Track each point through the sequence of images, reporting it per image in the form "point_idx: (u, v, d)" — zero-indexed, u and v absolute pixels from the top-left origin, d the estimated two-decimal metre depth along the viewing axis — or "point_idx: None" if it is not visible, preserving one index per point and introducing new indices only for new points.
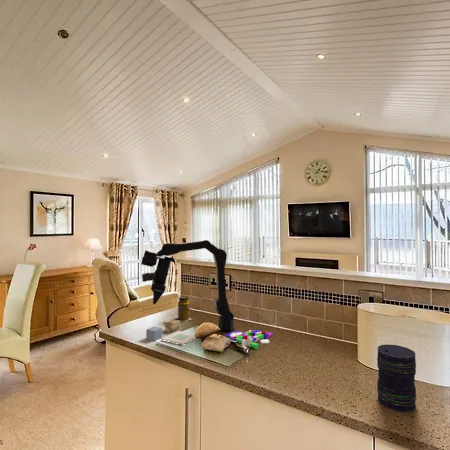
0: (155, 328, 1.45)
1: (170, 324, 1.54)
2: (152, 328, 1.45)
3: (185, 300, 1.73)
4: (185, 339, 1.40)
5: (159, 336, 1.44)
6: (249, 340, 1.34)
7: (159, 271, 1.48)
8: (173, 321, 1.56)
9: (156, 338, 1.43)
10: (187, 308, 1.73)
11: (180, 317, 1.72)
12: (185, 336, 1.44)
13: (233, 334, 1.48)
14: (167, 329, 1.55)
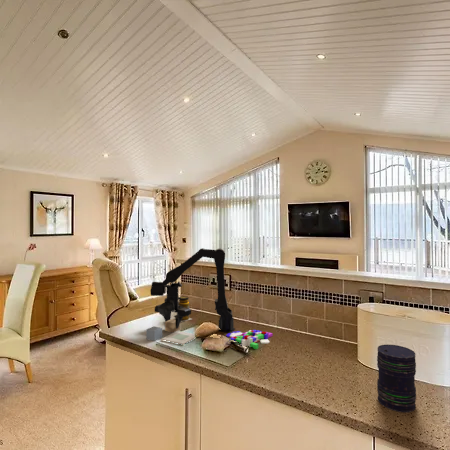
0: (155, 328, 1.45)
1: (170, 324, 1.54)
2: (152, 328, 1.45)
3: (185, 300, 1.73)
4: (185, 339, 1.40)
5: (159, 336, 1.44)
6: (249, 340, 1.34)
7: (175, 298, 1.54)
8: (173, 321, 1.56)
9: (156, 338, 1.42)
10: None
11: None
12: (185, 336, 1.44)
13: (233, 334, 1.48)
14: (167, 329, 1.55)
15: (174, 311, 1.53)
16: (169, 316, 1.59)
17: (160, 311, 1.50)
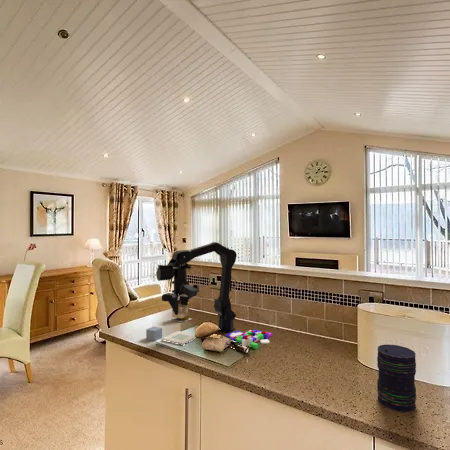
0: (155, 328, 1.45)
1: (185, 308, 1.44)
2: (152, 328, 1.45)
3: None
4: (185, 339, 1.40)
5: (159, 336, 1.44)
6: (249, 340, 1.34)
7: None
8: (180, 306, 1.45)
9: (156, 338, 1.42)
10: None
11: None
12: (185, 336, 1.44)
13: (233, 334, 1.48)
14: (183, 315, 1.42)
15: None
16: None
17: (193, 294, 1.40)
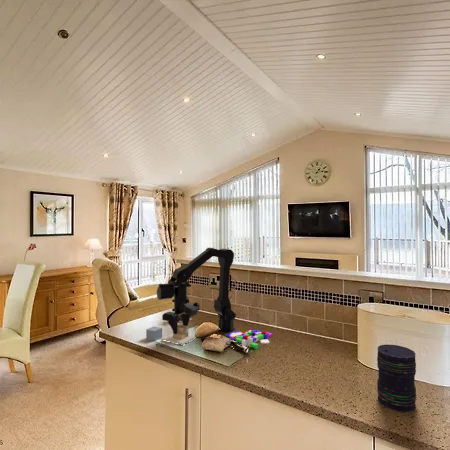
0: (155, 328, 1.45)
1: (186, 328, 1.43)
2: (152, 328, 1.45)
3: None
4: (185, 339, 1.40)
5: (159, 336, 1.44)
6: (249, 340, 1.34)
7: None
8: (181, 326, 1.44)
9: (156, 338, 1.42)
10: None
11: (180, 317, 1.72)
12: None
13: (233, 334, 1.48)
14: (183, 336, 1.42)
15: None
16: None
17: (194, 313, 1.39)
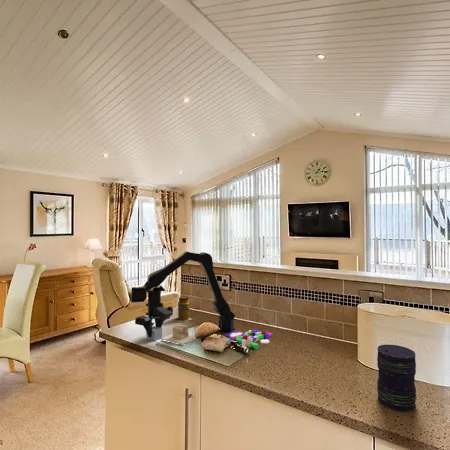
0: (155, 328, 1.45)
1: (186, 328, 1.43)
2: (152, 328, 1.45)
3: (185, 300, 1.73)
4: (185, 339, 1.40)
5: (159, 336, 1.44)
6: (249, 340, 1.34)
7: None
8: (181, 326, 1.44)
9: (156, 338, 1.42)
10: (187, 308, 1.73)
11: (180, 317, 1.72)
12: None
13: (233, 334, 1.48)
14: (183, 336, 1.42)
15: None
16: None
17: (166, 317, 1.40)
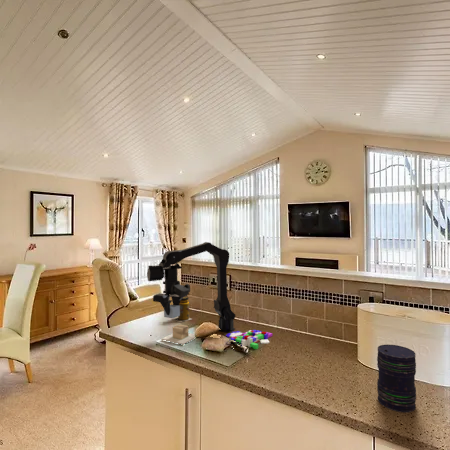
0: (172, 306, 1.45)
1: (186, 328, 1.43)
2: None
3: (185, 300, 1.73)
4: (185, 339, 1.40)
5: (177, 313, 1.44)
6: (249, 340, 1.34)
7: None
8: (181, 326, 1.44)
9: (174, 315, 1.42)
10: (187, 308, 1.73)
11: (180, 317, 1.72)
12: None
13: (233, 334, 1.48)
14: (183, 336, 1.42)
15: None
16: None
17: (184, 294, 1.40)
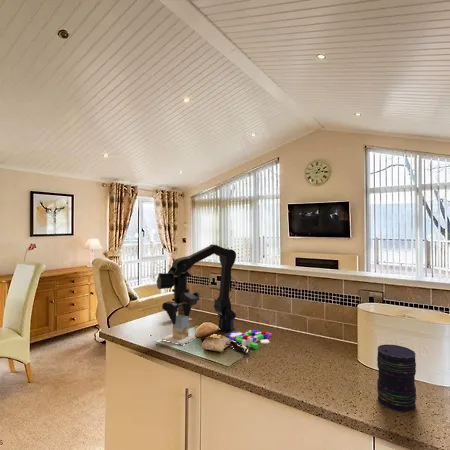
0: (181, 316, 1.44)
1: (186, 328, 1.43)
2: (178, 316, 1.44)
3: None
4: (185, 339, 1.40)
5: (185, 324, 1.43)
6: (249, 340, 1.34)
7: None
8: None
9: (183, 326, 1.41)
10: None
11: None
12: None
13: (233, 334, 1.48)
14: (183, 336, 1.42)
15: (184, 302, 1.44)
16: None
17: (194, 302, 1.39)
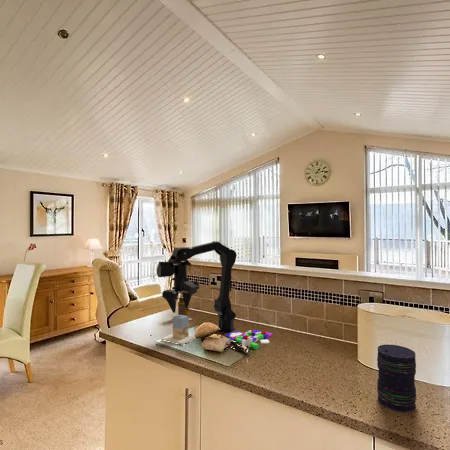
0: (181, 316, 1.44)
1: (186, 328, 1.43)
2: (178, 316, 1.44)
3: None
4: (185, 339, 1.40)
5: (185, 324, 1.43)
6: (249, 340, 1.34)
7: None
8: None
9: (183, 326, 1.41)
10: (187, 308, 1.73)
11: None
12: None
13: (233, 334, 1.48)
14: (183, 336, 1.42)
15: (184, 291, 1.44)
16: None
17: (194, 290, 1.39)
